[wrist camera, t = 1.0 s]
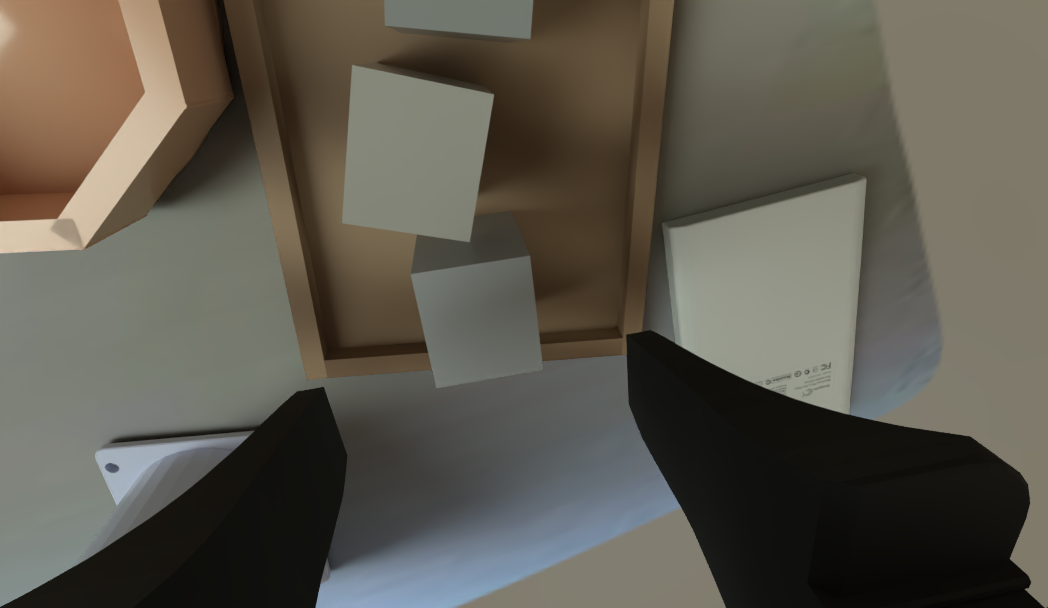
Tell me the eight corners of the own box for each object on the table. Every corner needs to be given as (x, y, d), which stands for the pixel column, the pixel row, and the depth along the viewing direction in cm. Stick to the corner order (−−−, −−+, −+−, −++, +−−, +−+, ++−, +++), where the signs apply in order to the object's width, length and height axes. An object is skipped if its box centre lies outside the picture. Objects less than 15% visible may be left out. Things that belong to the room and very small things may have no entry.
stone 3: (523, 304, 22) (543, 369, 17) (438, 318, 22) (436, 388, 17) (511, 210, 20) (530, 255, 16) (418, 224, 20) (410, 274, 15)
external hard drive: (843, 169, 22) (832, 403, 28) (656, 218, 22) (681, 444, 28) (871, 177, 21) (854, 423, 26) (671, 229, 21) (695, 466, 26)
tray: (630, 338, 24) (639, 353, 22) (313, 362, 22) (306, 379, 21) (676, -186, 16) (694, -206, 15) (195, -208, 14) (173, -231, 13)
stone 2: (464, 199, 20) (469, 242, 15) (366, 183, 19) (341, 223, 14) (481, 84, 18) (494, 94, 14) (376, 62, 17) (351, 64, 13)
